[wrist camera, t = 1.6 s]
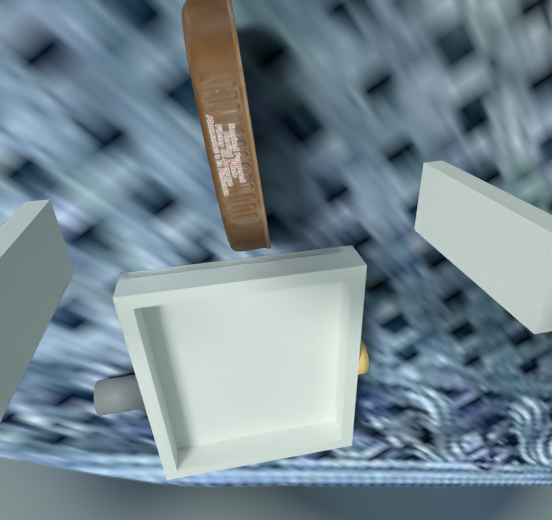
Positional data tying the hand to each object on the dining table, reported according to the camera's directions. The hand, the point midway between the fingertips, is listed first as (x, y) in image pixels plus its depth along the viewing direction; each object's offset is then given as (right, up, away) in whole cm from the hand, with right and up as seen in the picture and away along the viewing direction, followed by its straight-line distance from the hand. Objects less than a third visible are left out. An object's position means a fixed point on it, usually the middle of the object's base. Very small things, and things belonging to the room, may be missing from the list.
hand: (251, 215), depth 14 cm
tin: (-3, +8, +14) cm, 16 cm away
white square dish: (-3, -11, +24) cm, 27 cm away
